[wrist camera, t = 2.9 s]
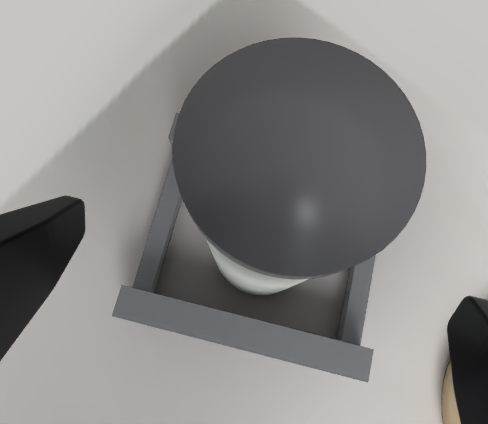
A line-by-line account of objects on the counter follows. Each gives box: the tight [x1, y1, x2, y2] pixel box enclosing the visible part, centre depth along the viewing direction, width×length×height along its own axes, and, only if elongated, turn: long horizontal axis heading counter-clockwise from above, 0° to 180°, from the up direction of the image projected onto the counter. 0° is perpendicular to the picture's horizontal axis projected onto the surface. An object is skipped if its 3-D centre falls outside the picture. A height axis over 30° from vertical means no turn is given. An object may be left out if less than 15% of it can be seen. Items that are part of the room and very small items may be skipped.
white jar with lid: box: [173, 38, 426, 295], centre depth 13 cm, size 5×5×12 cm
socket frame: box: [112, 113, 375, 382], centre depth 18 cm, size 9×10×2 cm
